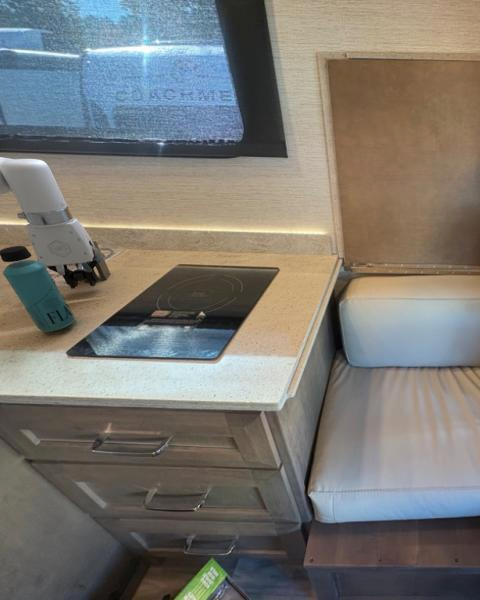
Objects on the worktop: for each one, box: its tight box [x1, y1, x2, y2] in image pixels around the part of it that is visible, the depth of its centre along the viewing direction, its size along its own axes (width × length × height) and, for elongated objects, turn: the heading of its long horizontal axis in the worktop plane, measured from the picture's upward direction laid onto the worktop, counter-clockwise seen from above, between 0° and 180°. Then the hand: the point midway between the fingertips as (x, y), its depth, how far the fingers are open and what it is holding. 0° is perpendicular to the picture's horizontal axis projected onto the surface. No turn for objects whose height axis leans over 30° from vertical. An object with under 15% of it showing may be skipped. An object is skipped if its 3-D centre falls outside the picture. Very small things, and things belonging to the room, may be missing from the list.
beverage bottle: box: [0, 245, 75, 332], centre depth 71 cm, size 6×7×20 cm
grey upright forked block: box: [74, 240, 111, 284], centre depth 92 cm, size 7×10×12 cm
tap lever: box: [71, 263, 87, 283], centre depth 88 cm, size 12×3×3 cm, turn 24°
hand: (84, 284), depth 87 cm, fingers closed on tap lever, 3 cm apart
